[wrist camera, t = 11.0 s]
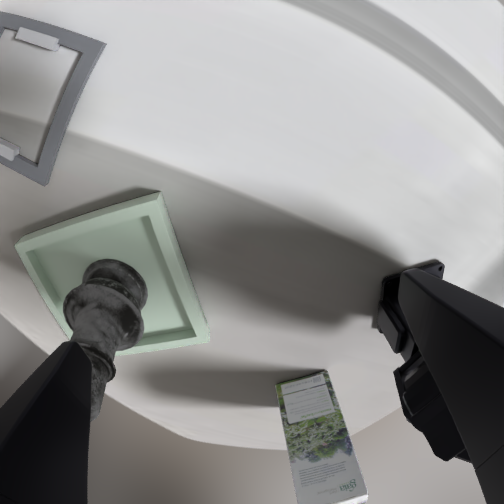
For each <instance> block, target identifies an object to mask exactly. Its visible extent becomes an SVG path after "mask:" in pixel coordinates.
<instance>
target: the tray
mask: <svg viewBox="0 0 504 504" xmlns="http://www.w3.org/2000/svg"><path fill="white" fill-rule="evenodd" d="M14 246H15V248H16V250H17V252H18V254H19V256H20V258H21V260H22V262H23V264H24V266H25V268H26V270H27V272H28V273H29V275H30V277H31V279H32V281H33V282H34V284H35V286H36V288H37V289H38V291H39V293H40V295H41V296H42V298H43V300H44V301H45V303H46V304H47V306H48V308H49V309H50V311H51V312H52V314H53V316H54V317H55V319H56V320H57V322H58V323H59V325H60V326H61V328H62V329H63V331H64V332H65V334H66V335H67V336H68V338H69V339H71V337H72V335H73V331H72V330H71V329H70V327H69V326H68V324H67V322H66V320H65V317H64V314H63V302H64V300H65V297H66V295H67V294H68V293H69V292H70V291H71V290H72V289H74V288H76V287H78V286H79V285H81V284H82V278H83V274H84V272H85V270H86V268H87V267H88V266H89V265H90V264H92V263H94V262H96V261H98V260H102V259H114V260H118V261H121V262H124V263H126V264H128V265H129V266H131V267H133V268H134V269H135V270H136V271H137V272H138V273H139V274H140V275H141V276H142V278H143V279H144V281H145V283H146V286H147V289H148V298H147V301H146V304H145V306H144V307H143V309H142V310H141V316H142V318H143V321H144V332H143V336H142V338H141V340H140V341H139V342H138V344H136V345H135V346H133V347H132V348H130V349H126V350H123V351H116V353H115V356H120V355H128V354H136V353H143V352H150V351H157V350H164V349H171V348H177V347H183V346H189V345H195V344H201V343H207V342H210V328H209V326H208V323H207V321H206V318H205V316H204V313H203V311H202V308H201V305H200V303H199V300H198V297H197V295H196V292H195V289H194V287H193V284H192V281H191V278H190V276H189V273H188V270H187V267H186V265H185V262H184V259H183V256H182V253H181V250H180V247H179V245H178V242H177V239H176V236H175V233H174V230H173V227H172V224H171V221H170V218H169V215H168V212H167V209H166V205H165V202H164V199H163V196H162V193H161V191H160V192H157V193H153V194H150V195H146V196H142V197H139V198H135V199H132V200H129V201H125V202H122V203H118V204H115V205H112V206H109V207H105V208H102V209H99V210H96V211H93V212H90V213H87V214H84V215H81V216H78V217H75V218H72V219H69V220H66V221H63V222H60V223H57V224H54V225H51V226H49V227H46V228H43V229H40V230H38V231H35V232H32V233H30V234H27V235H24V236H23V237H22V238H21V239H20V240H19V241H18V242H17V243H16V244H15V245H14Z"/></svg>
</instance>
